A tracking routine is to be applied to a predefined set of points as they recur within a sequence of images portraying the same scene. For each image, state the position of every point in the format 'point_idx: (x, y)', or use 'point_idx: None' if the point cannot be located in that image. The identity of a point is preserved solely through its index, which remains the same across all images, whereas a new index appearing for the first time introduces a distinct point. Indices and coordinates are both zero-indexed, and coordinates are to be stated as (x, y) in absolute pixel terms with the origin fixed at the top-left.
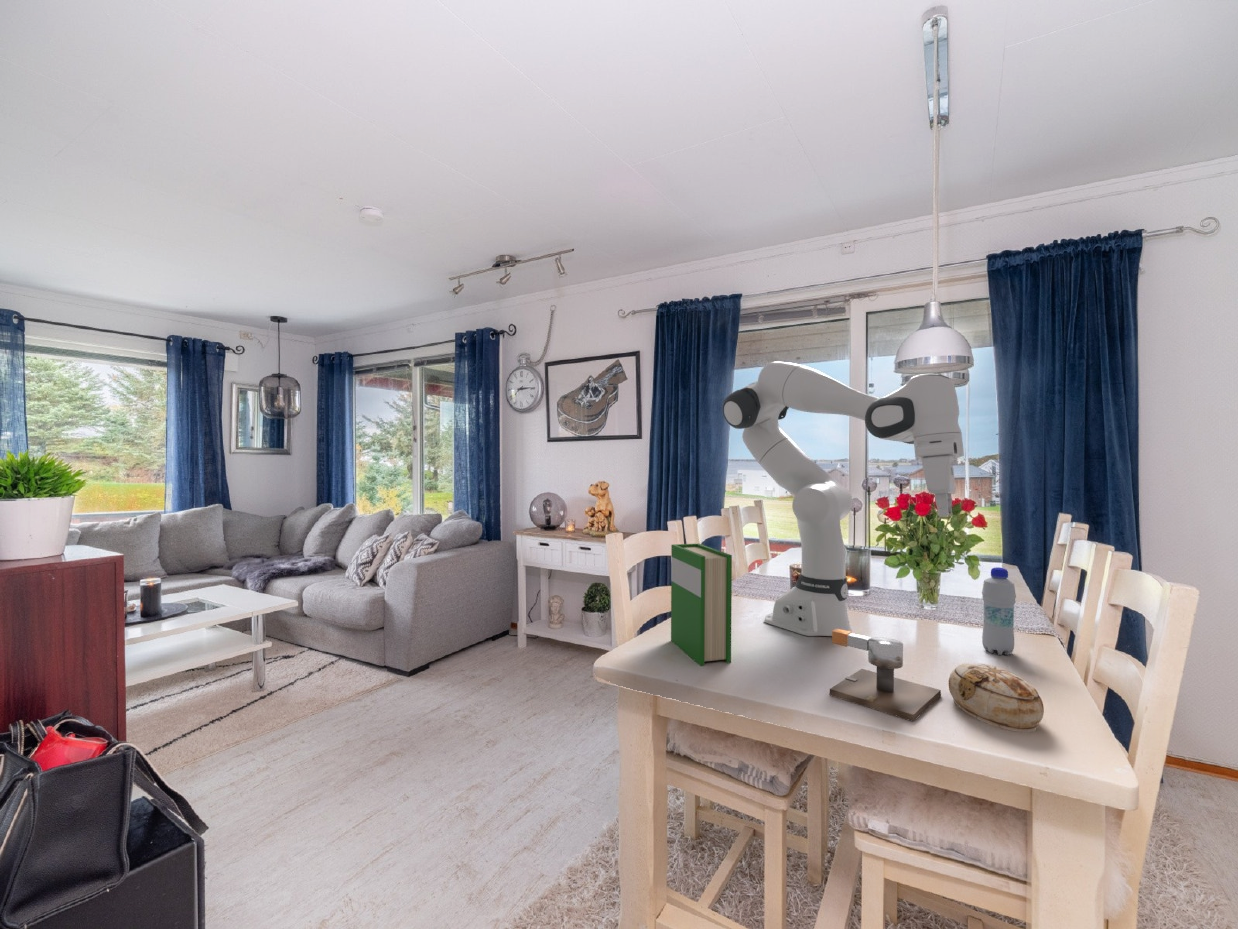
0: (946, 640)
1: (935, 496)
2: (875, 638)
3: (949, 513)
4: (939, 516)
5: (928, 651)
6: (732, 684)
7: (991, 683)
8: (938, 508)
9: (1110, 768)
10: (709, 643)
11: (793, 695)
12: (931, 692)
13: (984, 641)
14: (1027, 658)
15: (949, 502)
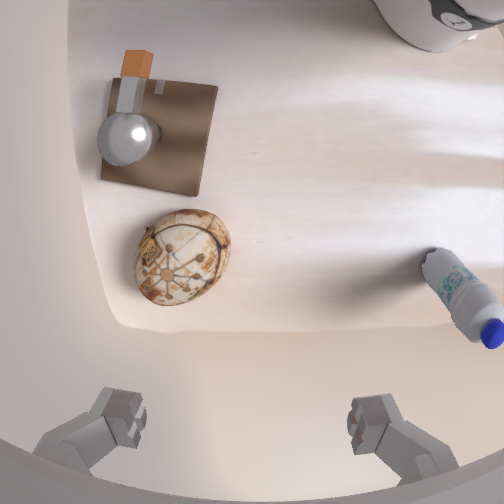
0: (462, 198)
1: (38, 449)
2: (129, 120)
3: (349, 425)
4: (106, 388)
5: (398, 170)
6: None
7: (141, 266)
8: (91, 414)
9: (131, 321)
10: None
11: (95, 49)
12: (178, 187)
13: (436, 253)
14: (420, 293)
15: (397, 466)
